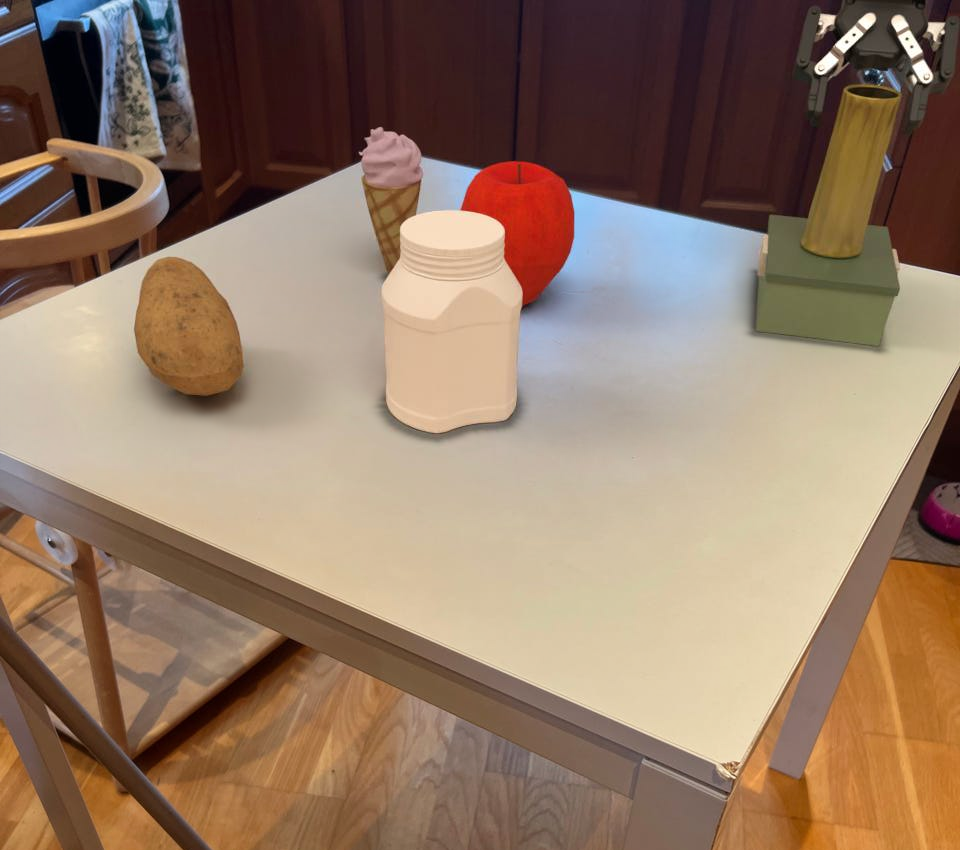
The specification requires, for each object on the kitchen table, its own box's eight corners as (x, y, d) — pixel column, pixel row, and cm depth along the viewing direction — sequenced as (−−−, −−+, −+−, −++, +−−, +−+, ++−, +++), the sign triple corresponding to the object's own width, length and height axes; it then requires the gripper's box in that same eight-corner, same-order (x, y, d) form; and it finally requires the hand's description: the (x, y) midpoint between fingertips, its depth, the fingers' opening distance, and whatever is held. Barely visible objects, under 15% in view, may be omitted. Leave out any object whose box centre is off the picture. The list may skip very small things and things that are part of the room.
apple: (590, 314, 100) (605, 177, 90) (487, 334, 96) (492, 192, 87) (536, 271, 107) (545, 141, 98) (439, 288, 103) (438, 153, 94)
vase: (855, 238, 101) (899, 84, 91) (867, 261, 96) (914, 102, 86) (796, 234, 101) (833, 81, 91) (804, 257, 96) (845, 98, 87)
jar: (490, 366, 91) (496, 200, 81) (532, 415, 84) (545, 242, 74) (372, 386, 87) (363, 215, 77) (407, 439, 81) (402, 261, 71)
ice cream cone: (352, 272, 106) (342, 122, 96) (395, 257, 109) (390, 111, 99) (392, 291, 102) (386, 138, 92) (435, 276, 106) (434, 125, 95)
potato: (152, 432, 81) (127, 326, 74) (141, 349, 92) (119, 250, 85) (256, 419, 83) (241, 314, 77) (234, 339, 94) (218, 241, 87)
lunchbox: (875, 282, 107) (892, 227, 103) (886, 348, 96) (905, 288, 91) (753, 268, 109) (765, 213, 105) (748, 331, 98) (761, 272, 94)
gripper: (822, -76, 89) (791, 95, 88) (985, -67, 87) (954, 109, 86) (806, -17, 96) (778, 141, 96) (956, -7, 94) (928, 155, 94)
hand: (862, 126), depth 91 cm, fingers open, 8 cm apart
